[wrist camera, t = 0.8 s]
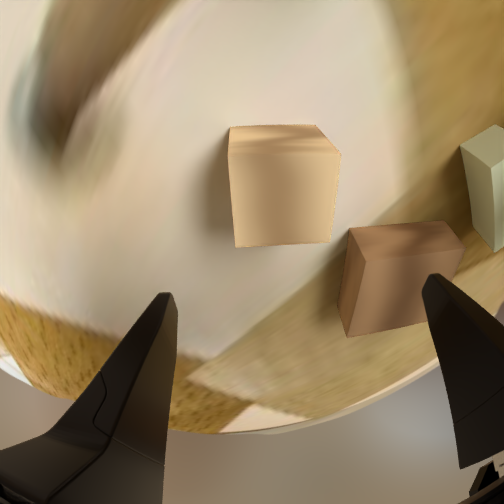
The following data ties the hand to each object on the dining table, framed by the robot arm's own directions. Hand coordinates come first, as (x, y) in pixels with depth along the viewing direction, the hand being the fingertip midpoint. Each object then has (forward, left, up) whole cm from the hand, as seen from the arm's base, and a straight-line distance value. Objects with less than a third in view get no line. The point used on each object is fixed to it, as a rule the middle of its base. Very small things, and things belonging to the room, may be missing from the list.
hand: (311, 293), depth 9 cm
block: (-18, +1, -11) cm, 21 cm away
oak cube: (0, 0, -11) cm, 11 cm away
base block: (-10, +10, -11) cm, 18 cm away
